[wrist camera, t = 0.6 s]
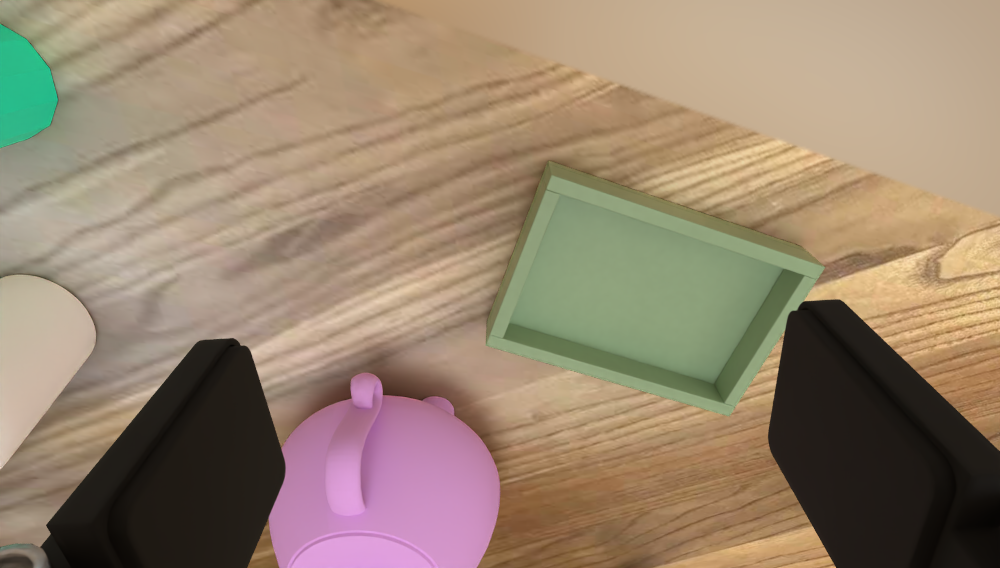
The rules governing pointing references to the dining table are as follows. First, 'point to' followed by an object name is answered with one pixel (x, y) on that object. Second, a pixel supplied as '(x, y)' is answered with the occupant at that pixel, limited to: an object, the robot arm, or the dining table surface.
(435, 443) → the teapot
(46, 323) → the cup
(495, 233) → the dining table surface
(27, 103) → the candle
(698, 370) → the tray
